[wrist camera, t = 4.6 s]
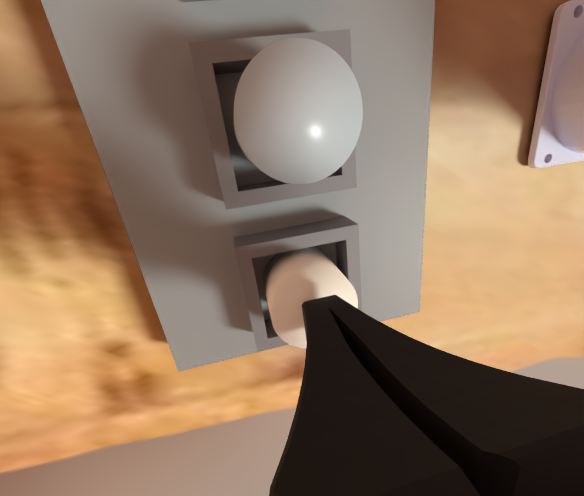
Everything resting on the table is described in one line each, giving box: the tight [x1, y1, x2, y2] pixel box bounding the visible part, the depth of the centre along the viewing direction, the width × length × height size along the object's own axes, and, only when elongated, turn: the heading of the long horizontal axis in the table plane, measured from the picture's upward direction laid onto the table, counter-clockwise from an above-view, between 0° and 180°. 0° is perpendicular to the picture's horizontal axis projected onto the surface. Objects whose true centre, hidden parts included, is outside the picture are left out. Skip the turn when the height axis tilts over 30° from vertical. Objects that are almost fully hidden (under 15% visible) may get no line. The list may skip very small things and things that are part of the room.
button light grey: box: [234, 38, 363, 184], centre depth 9 cm, size 4×4×3 cm
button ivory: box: [263, 246, 358, 348], centre depth 12 cm, size 4×4×3 cm
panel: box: [41, 0, 435, 371], centre depth 12 cm, size 14×22×4 cm, turn 8°
